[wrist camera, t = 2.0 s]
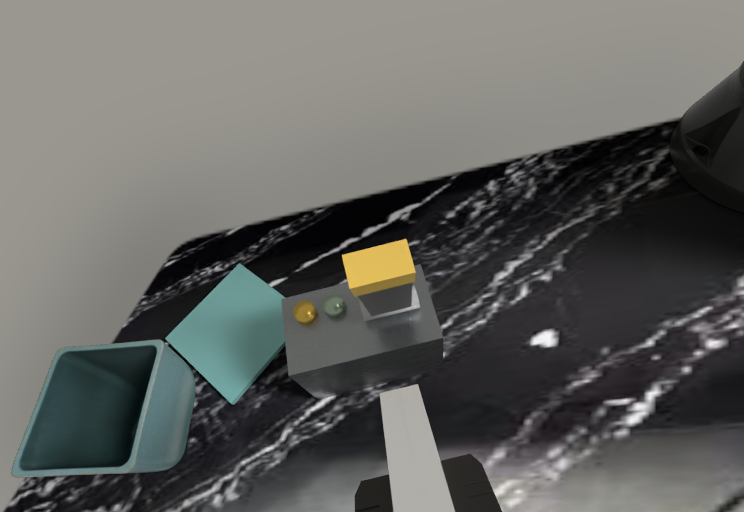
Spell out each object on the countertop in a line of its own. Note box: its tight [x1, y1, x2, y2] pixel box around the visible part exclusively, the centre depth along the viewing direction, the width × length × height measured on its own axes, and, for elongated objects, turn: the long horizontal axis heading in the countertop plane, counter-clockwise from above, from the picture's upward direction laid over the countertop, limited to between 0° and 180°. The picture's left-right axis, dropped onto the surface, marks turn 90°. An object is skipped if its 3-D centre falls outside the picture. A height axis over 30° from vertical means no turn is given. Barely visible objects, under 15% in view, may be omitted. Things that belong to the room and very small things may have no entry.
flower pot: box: [11, 340, 195, 478], centre depth 32 cm, size 9×9×9 cm
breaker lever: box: [342, 239, 420, 321], centre depth 24 cm, size 2×4×12 cm, turn 102°
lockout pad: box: [165, 263, 286, 405], centre depth 40 cm, size 10×10×1 cm
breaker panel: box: [281, 264, 443, 399], centre depth 33 cm, size 6×11×9 cm, turn 102°
